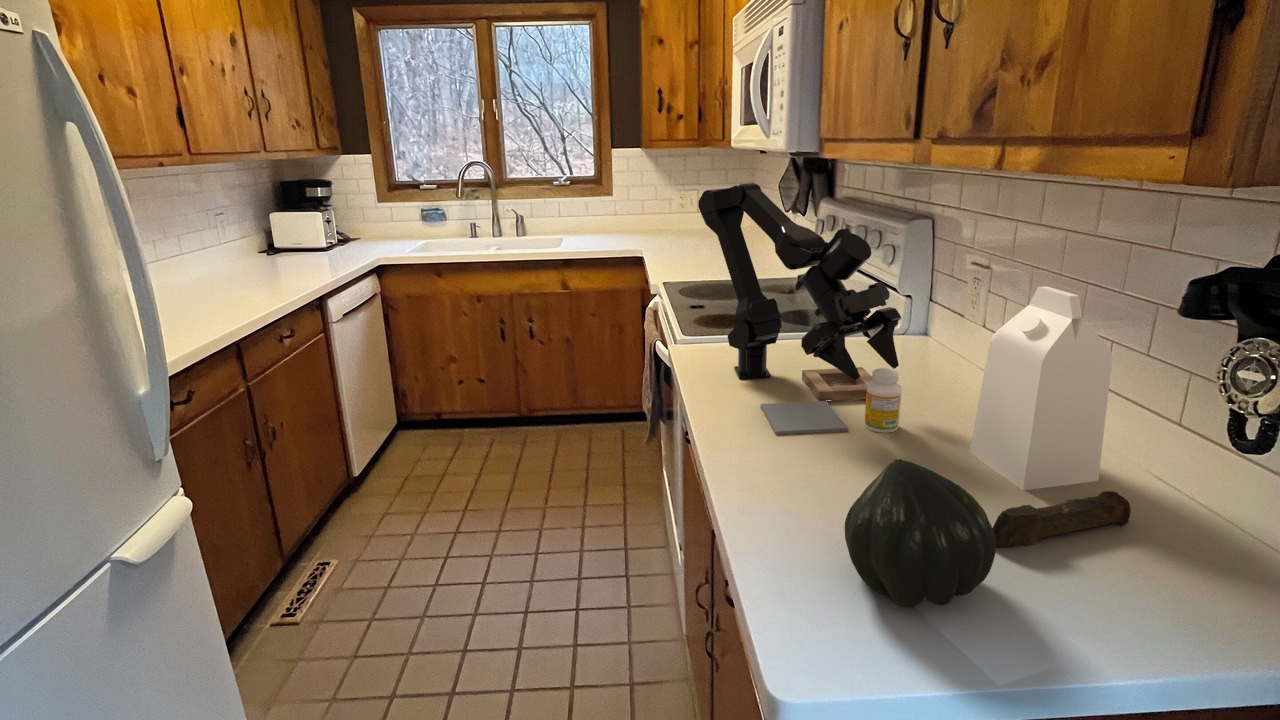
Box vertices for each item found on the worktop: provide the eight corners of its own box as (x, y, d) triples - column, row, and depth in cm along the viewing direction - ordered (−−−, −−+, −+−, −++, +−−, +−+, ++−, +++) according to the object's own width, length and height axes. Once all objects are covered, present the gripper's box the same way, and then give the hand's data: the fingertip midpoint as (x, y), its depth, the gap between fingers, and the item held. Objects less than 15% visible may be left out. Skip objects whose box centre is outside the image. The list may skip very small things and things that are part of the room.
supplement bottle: (870, 418, 119) (874, 364, 116) (902, 424, 116) (907, 369, 113) (859, 429, 115) (863, 374, 112) (892, 436, 112) (897, 379, 109)
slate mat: (760, 407, 126) (760, 404, 126) (826, 403, 126) (826, 400, 126) (775, 434, 114) (775, 431, 114) (847, 431, 115) (847, 427, 115)
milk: (1098, 480, 96) (1133, 297, 88) (1022, 490, 95) (1051, 304, 86) (1037, 444, 108) (1063, 279, 99) (969, 452, 106) (989, 285, 98)
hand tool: (1101, 512, 89) (1107, 480, 88) (1129, 529, 85) (1136, 495, 84) (973, 537, 85) (977, 503, 84) (996, 555, 81) (1001, 520, 80)
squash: (1039, 592, 66) (990, 440, 72) (886, 610, 65) (849, 456, 71) (972, 603, 79) (935, 474, 85) (844, 618, 78) (815, 487, 84)
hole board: (801, 379, 138) (802, 370, 138) (861, 376, 139) (862, 367, 138) (819, 402, 127) (819, 391, 126) (883, 398, 127) (884, 388, 127)
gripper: (816, 275, 109) (867, 359, 103) (896, 260, 118) (947, 337, 112) (780, 314, 118) (826, 394, 112) (857, 298, 127) (903, 370, 121)
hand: (877, 372), depth 114 cm, fingers open, 9 cm apart
